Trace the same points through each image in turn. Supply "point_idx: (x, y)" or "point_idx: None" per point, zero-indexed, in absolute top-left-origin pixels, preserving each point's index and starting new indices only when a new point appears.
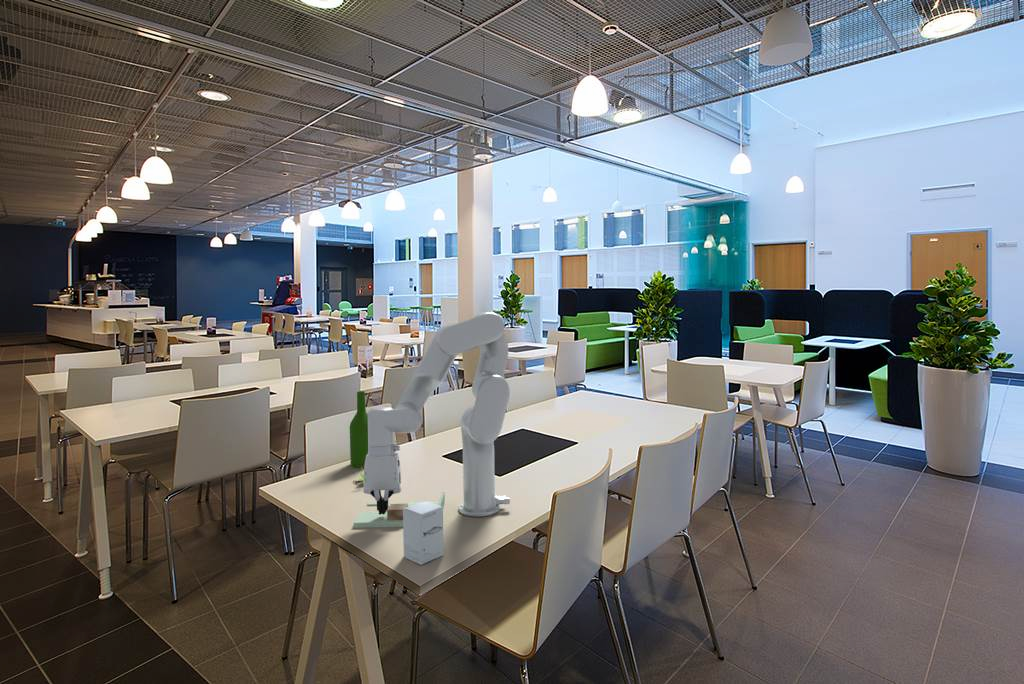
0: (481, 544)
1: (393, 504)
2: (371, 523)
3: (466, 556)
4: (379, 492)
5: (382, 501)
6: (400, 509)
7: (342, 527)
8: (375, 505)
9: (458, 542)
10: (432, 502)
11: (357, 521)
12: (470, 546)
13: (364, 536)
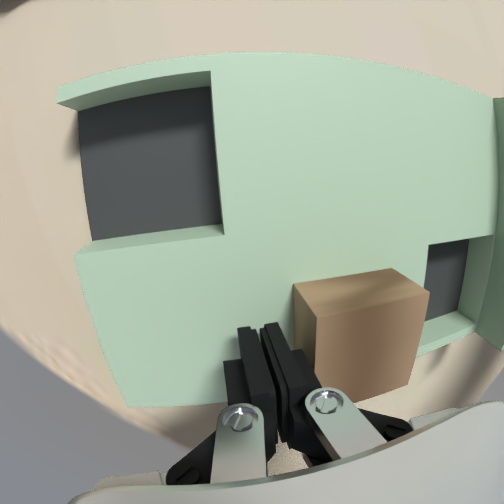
0: (498, 367)
1: (341, 327)
2: (215, 399)
3: None
4: (253, 459)
5: (289, 447)
6: (387, 391)
7: (59, 335)
8: (115, 89)
9: (473, 374)
10: (467, 96)
11: (134, 394)
12: (482, 382)
13: (205, 412)
